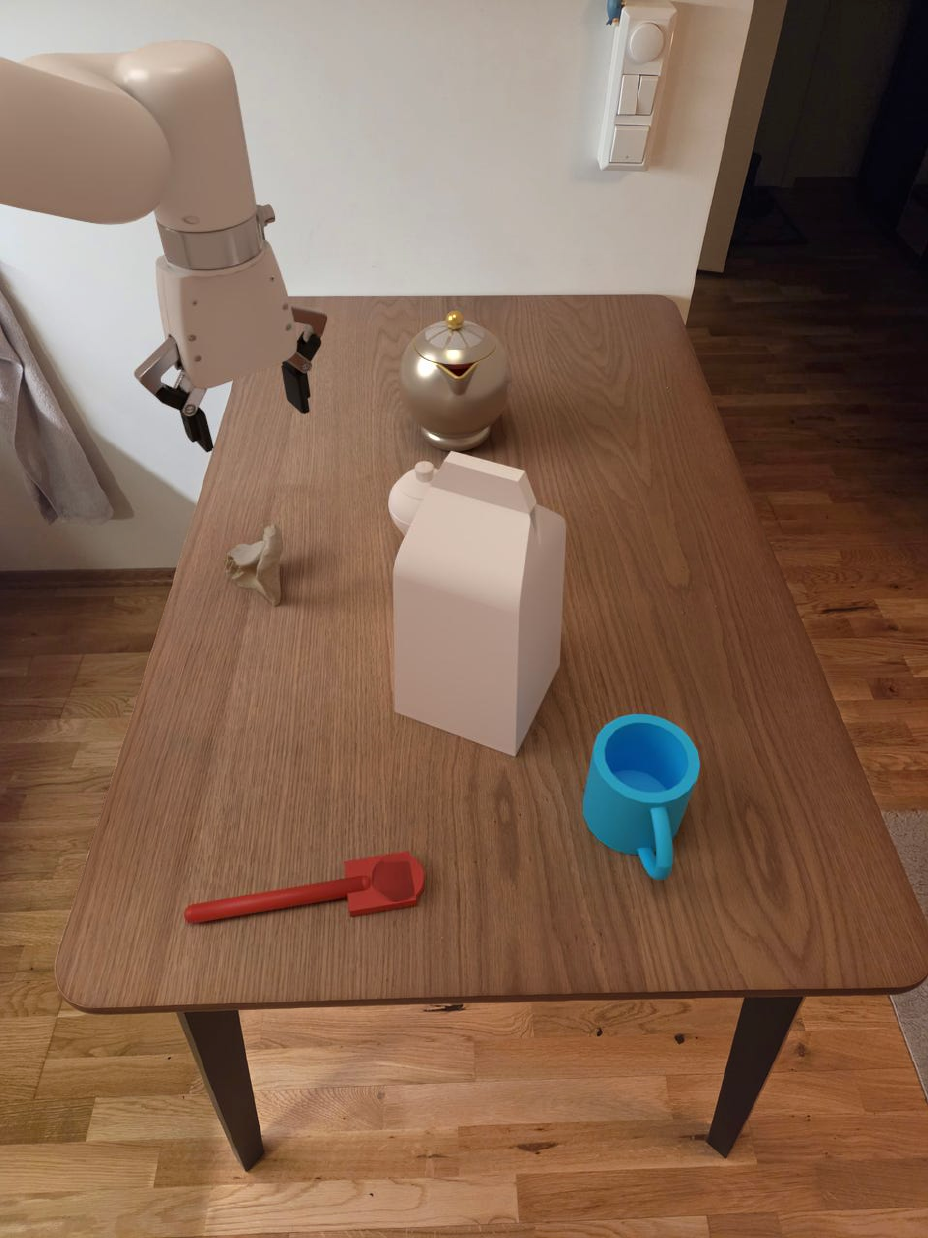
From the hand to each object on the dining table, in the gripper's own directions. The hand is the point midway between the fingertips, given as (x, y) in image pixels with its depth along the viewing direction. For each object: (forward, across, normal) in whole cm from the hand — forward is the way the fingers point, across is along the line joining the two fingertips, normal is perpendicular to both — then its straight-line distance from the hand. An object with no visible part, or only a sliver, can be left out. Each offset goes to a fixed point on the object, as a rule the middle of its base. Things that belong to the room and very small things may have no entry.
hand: (252, 424), depth 78 cm
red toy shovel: (+18, +17, +33) cm, 42 cm away
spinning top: (+19, -14, +7) cm, 24 cm away
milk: (+19, -7, +25) cm, 32 cm away
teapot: (+19, -30, -10) cm, 37 cm away
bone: (+19, +3, 0) cm, 19 cm away
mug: (+19, -8, +45) cm, 49 cm away
